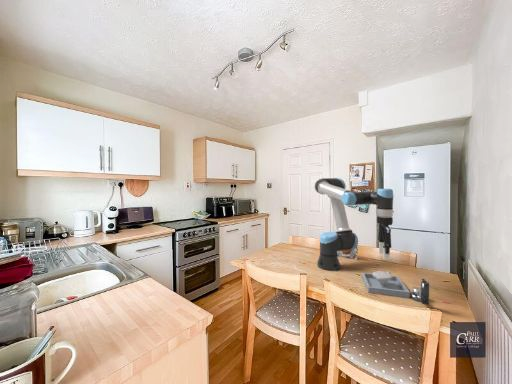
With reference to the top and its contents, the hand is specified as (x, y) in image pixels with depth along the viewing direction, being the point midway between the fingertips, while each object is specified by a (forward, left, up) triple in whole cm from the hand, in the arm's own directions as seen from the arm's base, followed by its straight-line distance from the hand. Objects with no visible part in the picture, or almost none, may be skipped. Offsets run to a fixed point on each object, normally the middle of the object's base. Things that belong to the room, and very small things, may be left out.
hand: (384, 256), depth 120 cm
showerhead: (0, 0, -17) cm, 17 cm away
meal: (-15, +43, -18) cm, 49 cm away
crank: (+13, -13, -15) cm, 24 cm away
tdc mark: (+25, -9, -17) cm, 31 cm away
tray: (0, 0, -17) cm, 17 cm away
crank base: (+13, -9, -17) cm, 24 cm away
